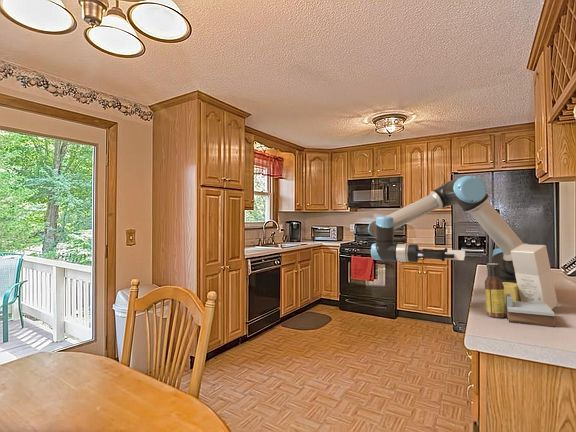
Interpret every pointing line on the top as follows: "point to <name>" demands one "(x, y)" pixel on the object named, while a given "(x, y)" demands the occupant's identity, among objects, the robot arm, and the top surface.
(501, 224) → the robot arm
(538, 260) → the tall white carton
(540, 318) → the brown flat block
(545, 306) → the lid
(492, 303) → the sauce bottle
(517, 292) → the cheese
